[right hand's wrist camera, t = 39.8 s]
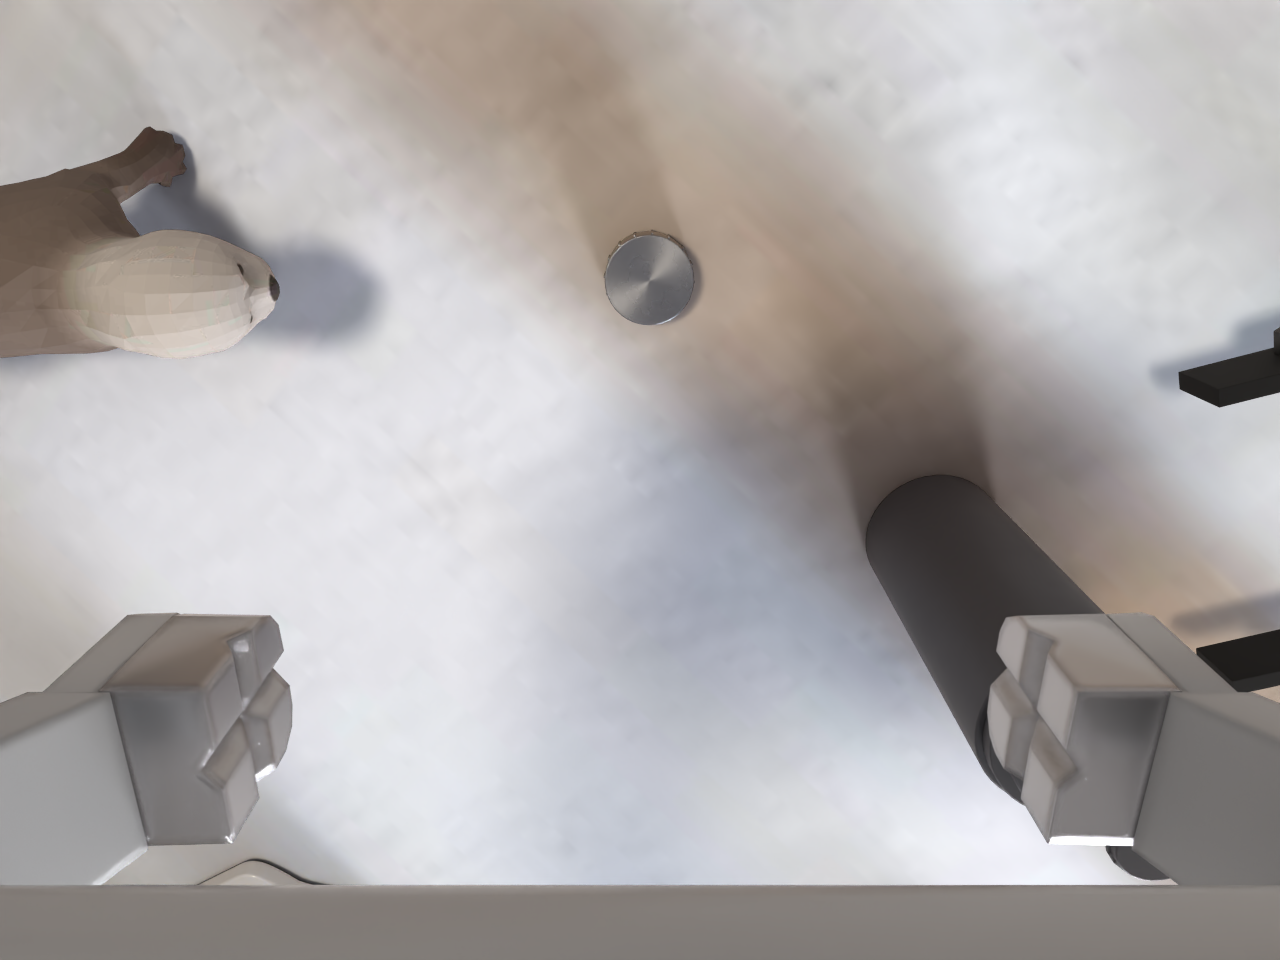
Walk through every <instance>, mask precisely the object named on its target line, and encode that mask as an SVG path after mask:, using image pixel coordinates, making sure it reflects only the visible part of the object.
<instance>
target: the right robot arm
mask: <svg viewBox="0 0 1280 960" xmlns="http://www.w3.org/2000/svg"><path fill="white" fill-rule="evenodd" d="M283 651H284V649H283V644H282V639H281V634H280V630H279V625H278V624H277V622H276V621H275V620H274V619H273V618H272V617H271V616H270V615H225V614H179V613H150V614H133V615H127V616H126V617H125V618H124V619H123V620H121V621H120V622H119V623H118V624H117V625H116V626H115V627H114V628H113V629H112V630H110V631H109V632H108V633H107V634H106V635H105V636H104V637H103V638H102V639H101V640H99V641H98V642H97V643H96V644H95V645H94V646H93V647H92V648H91V649H90V650H88V651H87V652H86V653H85V654H84V655H83V656H82V657H81V658H80V659H79V660H77V661H76V662H75V663H74V664H73V665H72V666H71V667H70V668H69V669H68V670H66V671H65V672H64V673H63V674H62V675H61V676H60V677H59V678H58V679H56V680H55V681H54V682H53V683H52V684H51V685H50V686H49V687H48V688H47V689H45V690H44V691H43V692H27V693H24V694H22V695H20V696H17V697H15V698H12V699H10V700H7V701H5V702H2V703H0V960H1280V703H1278V702H1275V701H1273V700H1270V699H1268V698H1265V697H1263V696H1260V695H1258V694H1256V693H1253V692H1237V691H1236V690H1235V689H1233V688H1232V687H1231V686H1230V685H1229V684H1228V683H1227V682H1226V681H1225V680H1224V679H1223V678H1221V677H1220V676H1219V675H1218V674H1217V673H1216V672H1215V671H1214V670H1213V669H1212V668H1210V667H1209V666H1208V665H1207V664H1206V663H1205V662H1204V661H1203V660H1202V659H1201V658H1199V657H1198V656H1197V655H1196V654H1195V653H1194V652H1193V651H1192V650H1191V649H1190V648H1188V647H1187V646H1186V645H1185V644H1184V643H1183V642H1182V641H1181V640H1180V639H1179V638H1177V637H1176V636H1175V635H1174V634H1173V633H1172V632H1171V631H1170V630H1169V629H1168V628H1166V627H1165V626H1164V625H1163V624H1162V623H1161V622H1160V621H1159V620H1158V619H1157V618H1156V617H1154V616H1152V615H1148V614H1145V613H1120V614H1068V615H1027V616H1012V617H1006V618H1005V621H1004V623H1003V625H1002V627H1001V629H1000V632H999V638H998V643H997V649H996V651H997V653H998V654H999V656H1000V657H1001V659H1002V661H1003V662H1004V664H1005V665H1006V667H1007V669H1006V670H1005V671H1004V672H1003V673H1002V674H1001V675H1000V676H999V677H998V678H997V679H996V680H995V681H994V682H993V683H992V684H991V685H990V693H989V701H988V709H987V714H988V725H989V735H990V739H991V742H992V745H993V748H994V751H995V754H996V756H997V758H998V759H999V761H1000V763H1001V765H1002V767H1003V768H1004V770H1006V771H1007V772H1009V773H1011V774H1012V775H1014V776H1015V777H1017V778H1019V779H1020V780H1022V781H1023V787H1022V793H1021V799H1022V801H1023V803H1024V805H1025V806H1026V808H1027V810H1028V811H1029V813H1030V815H1031V816H1032V818H1033V820H1034V821H1035V823H1036V825H1037V826H1038V828H1039V830H1040V832H1041V833H1042V835H1043V837H1044V838H1045V840H1046V842H1047V843H1052V844H1089V845H1126V846H1132V850H1133V851H1134V852H1136V853H1137V854H1138V855H1140V856H1141V857H1142V858H1144V859H1145V860H1146V861H1148V862H1149V863H1150V864H1152V865H1153V866H1154V867H1156V868H1157V869H1158V870H1160V871H1161V872H1162V873H1164V874H1165V875H1166V876H1168V877H1169V878H1170V879H1172V880H1173V881H1174V882H1176V883H1177V884H1178V885H312V884H308V883H305V882H302V881H299V880H297V879H296V878H294V877H292V876H290V875H288V874H287V873H285V872H283V871H281V870H279V869H277V868H275V867H273V866H271V865H269V864H266V863H263V862H259V861H247V862H244V863H241V864H239V865H237V866H235V867H233V868H231V869H229V870H227V871H225V872H223V873H221V874H219V875H217V876H215V877H213V878H211V879H209V880H207V881H205V882H203V883H201V884H199V885H102V884H103V883H105V882H106V881H107V880H109V879H110V878H111V877H113V876H114V875H115V874H117V873H118V872H119V871H121V870H122V869H123V868H125V867H126V866H127V865H129V864H130V863H131V862H133V861H134V860H135V859H137V858H138V857H139V856H141V855H142V854H143V853H145V852H146V851H147V850H148V846H154V845H189V844H225V843H233V842H234V840H235V838H236V837H237V835H238V833H239V832H240V830H241V828H242V827H243V825H244V823H245V821H246V820H247V818H248V816H249V815H250V813H251V811H252V810H253V808H254V806H255V805H256V803H257V801H258V799H259V793H258V787H257V781H258V780H260V779H261V778H263V777H265V776H266V775H268V774H269V773H271V772H273V771H274V770H276V768H277V767H278V765H279V763H280V761H281V759H282V757H283V756H284V754H285V752H286V749H287V745H288V741H289V736H290V732H291V728H292V699H291V692H290V685H289V684H288V683H287V682H286V681H285V680H284V679H283V678H282V677H281V676H280V675H279V674H278V673H277V672H276V671H275V670H274V669H273V667H274V665H275V664H276V662H277V661H278V659H279V657H280V656H281V654H282V653H283Z"/></svg>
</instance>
